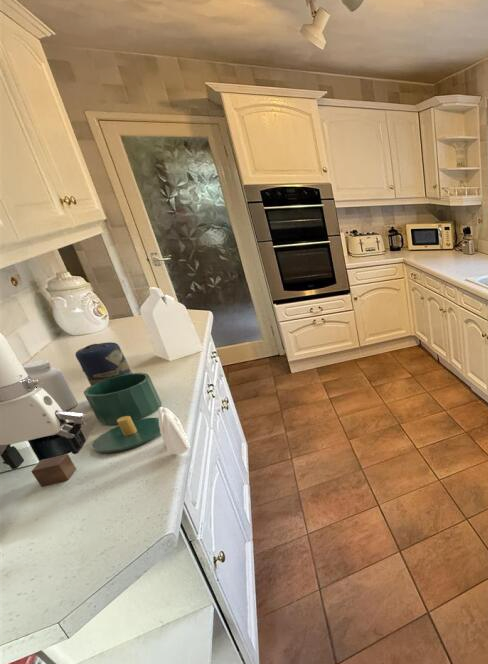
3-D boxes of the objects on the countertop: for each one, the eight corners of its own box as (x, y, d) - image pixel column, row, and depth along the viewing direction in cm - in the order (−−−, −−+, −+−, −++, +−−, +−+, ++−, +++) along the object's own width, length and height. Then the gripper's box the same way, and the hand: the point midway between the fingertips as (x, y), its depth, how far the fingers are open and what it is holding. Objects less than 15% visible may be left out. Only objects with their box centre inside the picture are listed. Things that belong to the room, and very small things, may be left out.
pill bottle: (82, 406, 119) (57, 361, 112) (43, 419, 112) (15, 372, 106) (74, 399, 122) (50, 355, 116) (36, 411, 116) (9, 365, 110)
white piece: (193, 453, 96) (177, 415, 92) (172, 462, 94) (153, 423, 89) (185, 433, 104) (170, 397, 100) (165, 441, 101) (148, 404, 97)
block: (41, 487, 87) (30, 471, 85) (50, 475, 90) (41, 459, 88) (68, 480, 89) (58, 464, 87) (76, 468, 92) (67, 453, 90)
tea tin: (91, 431, 106) (74, 400, 102) (109, 407, 117) (94, 379, 113) (155, 417, 112) (141, 387, 108) (166, 396, 123) (154, 369, 119)
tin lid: (84, 461, 94) (72, 442, 92) (106, 430, 106) (96, 412, 104) (160, 443, 101) (151, 424, 98) (173, 415, 112) (165, 398, 110)
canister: (121, 404, 119) (94, 350, 112) (90, 404, 119) (61, 350, 112) (148, 389, 128) (125, 337, 120) (120, 389, 128) (95, 338, 121)
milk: (155, 355, 153) (127, 290, 143) (189, 344, 162) (165, 283, 152) (170, 361, 148) (142, 293, 137) (204, 350, 157) (180, 286, 146)
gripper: (70, 373, 87) (106, 436, 94) (-45, 394, 80) (3, 461, 87) (55, 387, 81) (94, 454, 88) (-72, 411, 74) (-18, 482, 81)
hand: (49, 457), depth 87 cm, fingers open, 9 cm apart
